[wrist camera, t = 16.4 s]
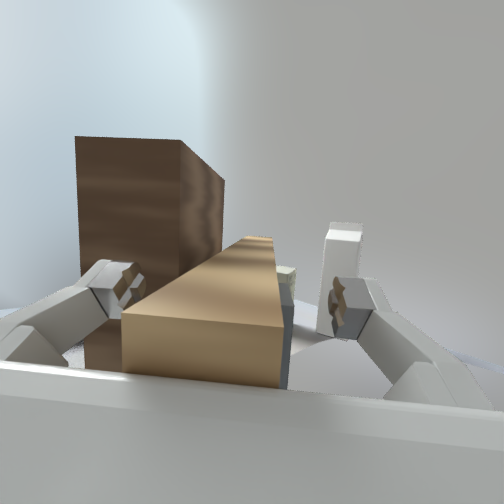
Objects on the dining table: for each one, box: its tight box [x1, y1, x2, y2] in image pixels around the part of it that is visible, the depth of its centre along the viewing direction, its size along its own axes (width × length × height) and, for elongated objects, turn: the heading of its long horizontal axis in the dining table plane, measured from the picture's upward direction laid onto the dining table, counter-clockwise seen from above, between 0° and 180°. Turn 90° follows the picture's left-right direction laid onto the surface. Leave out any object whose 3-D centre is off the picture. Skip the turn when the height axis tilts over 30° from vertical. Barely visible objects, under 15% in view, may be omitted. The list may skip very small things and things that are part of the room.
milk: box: [316, 222, 363, 341], centre depth 45 cm, size 6×6×22 cm
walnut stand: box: [75, 136, 225, 373], centre depth 23 cm, size 14×7×26 cm, turn 176°
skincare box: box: [276, 265, 297, 301], centre depth 46 cm, size 6×4×12 cm
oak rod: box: [121, 236, 284, 389], centre depth 19 cm, size 28×4×4 cm, turn 176°
